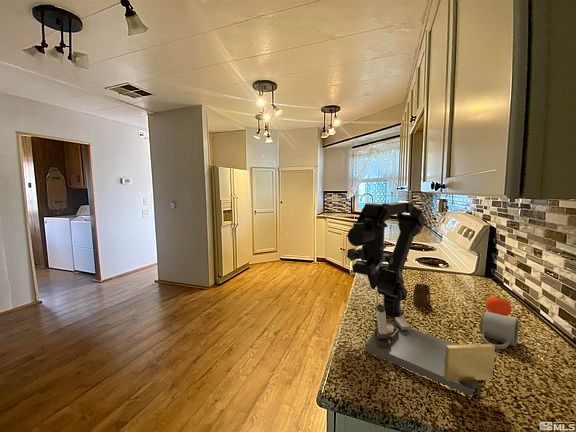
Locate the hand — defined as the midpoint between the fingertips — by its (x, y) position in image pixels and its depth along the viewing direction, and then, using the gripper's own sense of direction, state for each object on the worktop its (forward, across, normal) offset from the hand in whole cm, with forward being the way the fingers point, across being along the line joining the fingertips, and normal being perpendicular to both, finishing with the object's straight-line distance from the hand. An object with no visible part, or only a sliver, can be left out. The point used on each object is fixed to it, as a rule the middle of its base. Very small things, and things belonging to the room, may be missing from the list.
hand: (373, 288), depth 82 cm
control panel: (+12, +8, +17) cm, 22 cm away
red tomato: (+12, -34, +32) cm, 48 cm away
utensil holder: (+12, -27, +8) cm, 31 cm away
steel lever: (+7, +13, +9) cm, 17 cm away
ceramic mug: (+12, -14, +32) cm, 37 cm away
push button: (+8, +8, +8) cm, 14 cm away
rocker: (+8, +1, +10) cm, 13 cm away
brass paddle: (+10, +14, +28) cm, 32 cm away
